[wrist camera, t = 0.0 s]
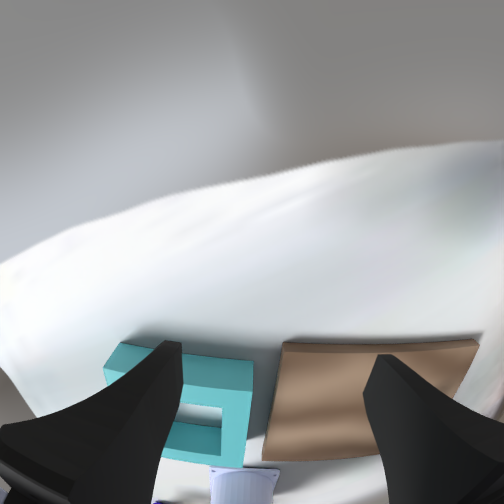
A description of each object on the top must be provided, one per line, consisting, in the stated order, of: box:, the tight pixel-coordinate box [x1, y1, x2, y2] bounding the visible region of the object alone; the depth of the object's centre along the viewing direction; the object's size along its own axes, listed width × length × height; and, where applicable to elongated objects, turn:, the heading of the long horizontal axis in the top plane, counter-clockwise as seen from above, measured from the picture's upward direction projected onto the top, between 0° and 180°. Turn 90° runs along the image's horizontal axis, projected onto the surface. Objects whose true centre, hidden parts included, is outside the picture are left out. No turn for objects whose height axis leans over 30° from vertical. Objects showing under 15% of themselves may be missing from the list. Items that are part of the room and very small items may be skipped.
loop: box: [103, 343, 254, 468], centre depth 22 cm, size 11×11×4 cm
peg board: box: [262, 339, 480, 461], centre depth 21 cm, size 15×19×6 cm
